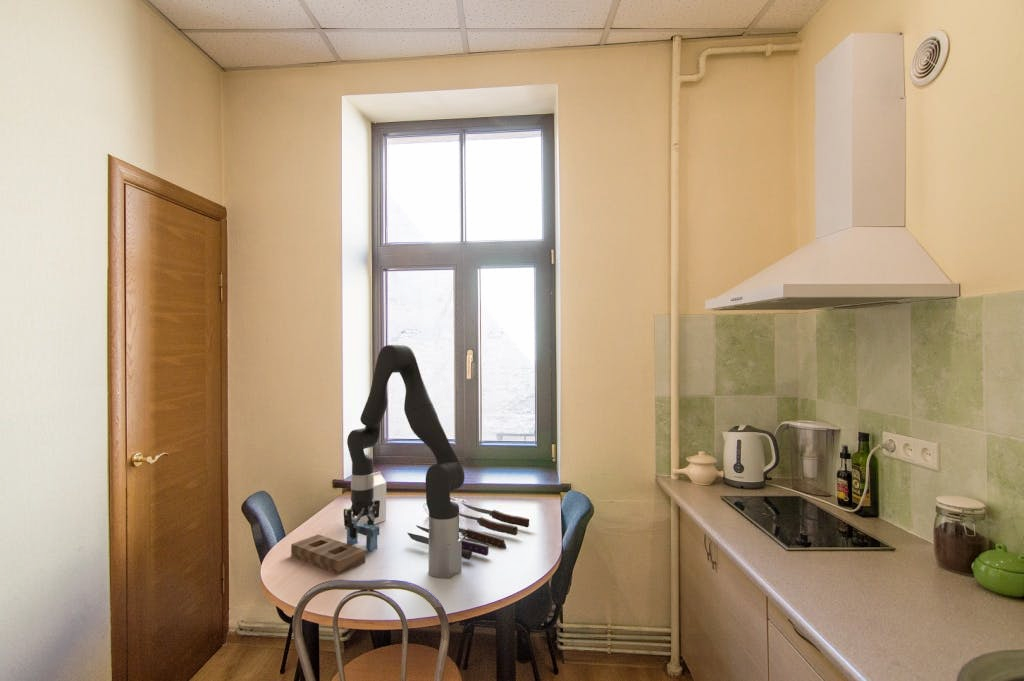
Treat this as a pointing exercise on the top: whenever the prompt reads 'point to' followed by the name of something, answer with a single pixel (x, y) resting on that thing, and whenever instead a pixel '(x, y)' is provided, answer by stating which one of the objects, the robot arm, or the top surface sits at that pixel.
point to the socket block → (328, 554)
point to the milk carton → (378, 498)
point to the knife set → (479, 536)
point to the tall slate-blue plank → (366, 530)
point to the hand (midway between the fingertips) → (361, 534)
